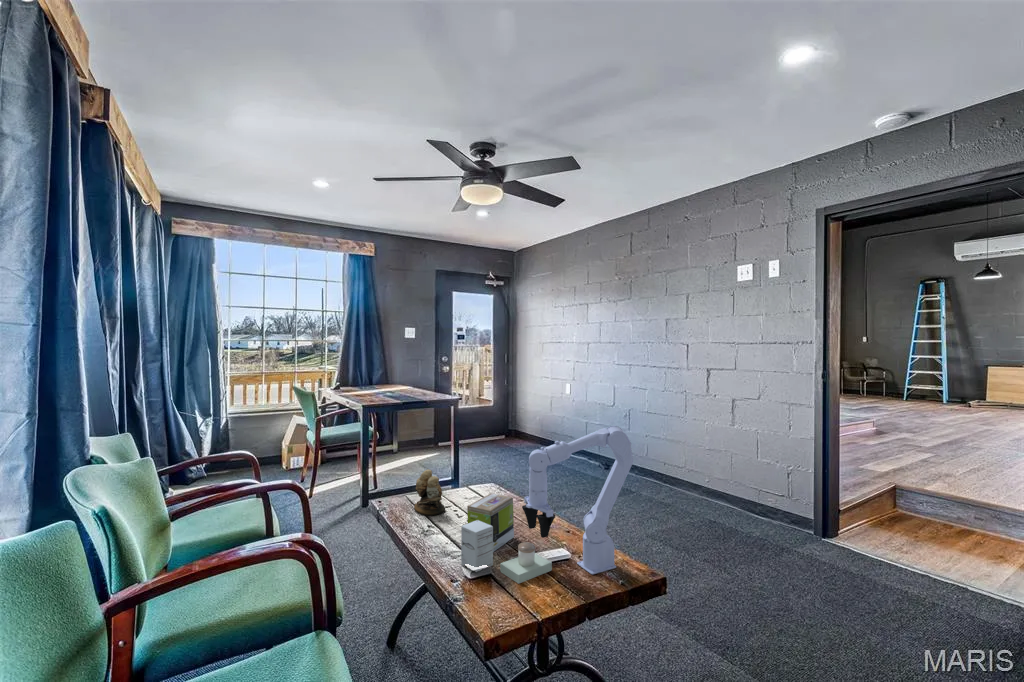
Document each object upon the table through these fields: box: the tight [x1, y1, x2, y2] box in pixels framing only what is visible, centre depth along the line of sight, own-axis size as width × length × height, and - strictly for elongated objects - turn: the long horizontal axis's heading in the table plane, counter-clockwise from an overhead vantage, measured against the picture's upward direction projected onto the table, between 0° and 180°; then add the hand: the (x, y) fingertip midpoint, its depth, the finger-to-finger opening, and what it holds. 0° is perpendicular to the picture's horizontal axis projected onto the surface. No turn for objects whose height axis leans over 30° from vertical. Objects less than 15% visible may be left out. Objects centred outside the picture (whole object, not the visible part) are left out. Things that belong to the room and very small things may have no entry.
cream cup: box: [517, 541, 536, 567], centre depth 145 cm, size 5×5×5 cm
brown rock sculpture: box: [413, 469, 446, 517], centre depth 198 cm, size 18×12×17 cm, turn 34°
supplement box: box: [460, 520, 494, 567], centre depth 149 cm, size 7×7×13 cm
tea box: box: [466, 493, 515, 553], centre depth 165 cm, size 15×10×15 cm, turn 149°
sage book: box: [499, 552, 553, 585], centre depth 145 cm, size 13×9×3 cm
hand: (538, 532), depth 149 cm, fingers open, 7 cm apart
